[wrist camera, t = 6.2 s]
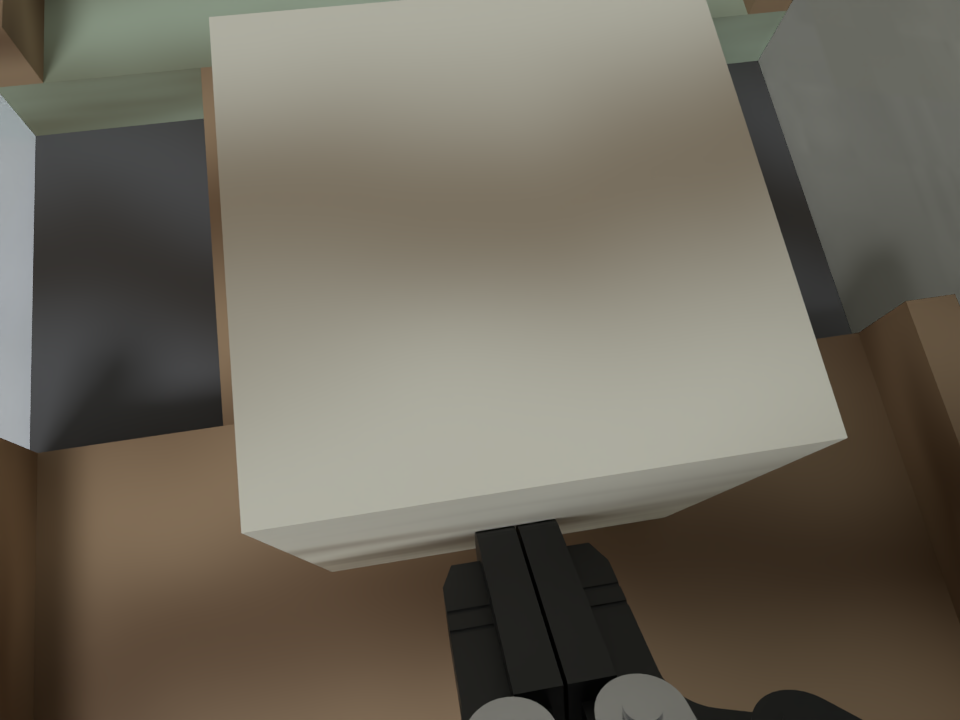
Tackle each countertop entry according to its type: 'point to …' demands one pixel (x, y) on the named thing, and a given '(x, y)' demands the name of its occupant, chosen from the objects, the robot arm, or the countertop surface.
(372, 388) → the block
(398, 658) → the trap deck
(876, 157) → the countertop surface
